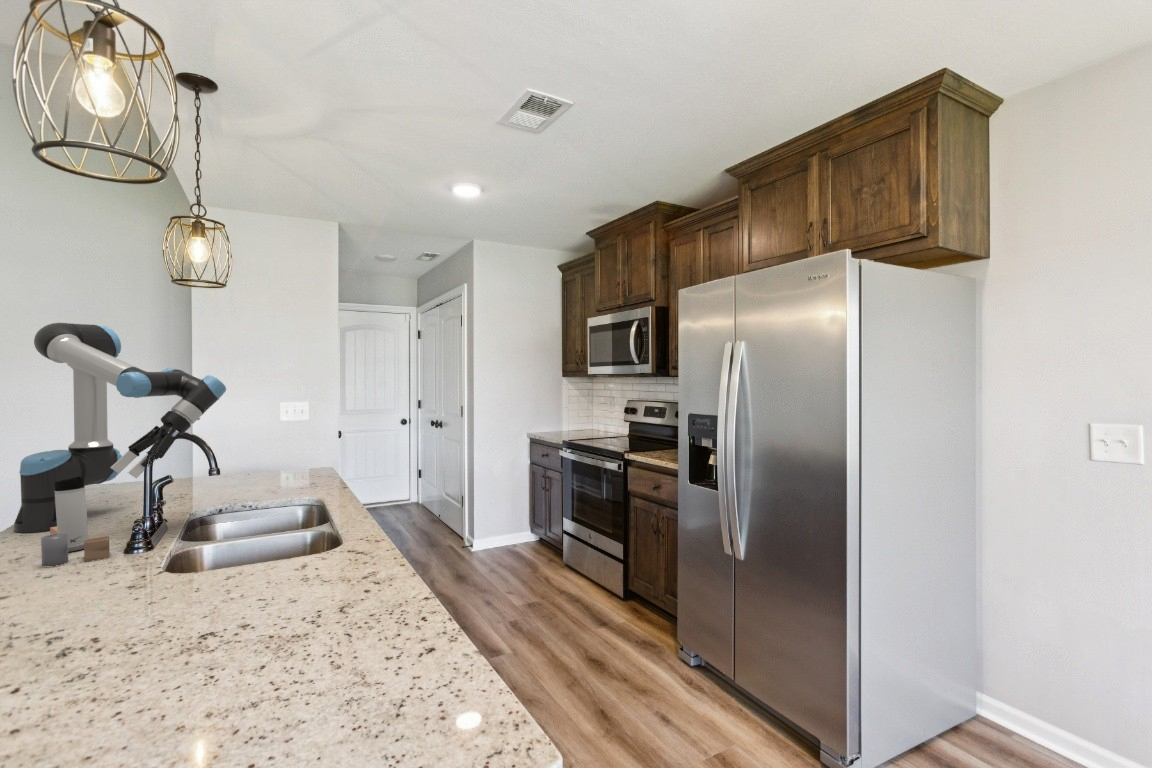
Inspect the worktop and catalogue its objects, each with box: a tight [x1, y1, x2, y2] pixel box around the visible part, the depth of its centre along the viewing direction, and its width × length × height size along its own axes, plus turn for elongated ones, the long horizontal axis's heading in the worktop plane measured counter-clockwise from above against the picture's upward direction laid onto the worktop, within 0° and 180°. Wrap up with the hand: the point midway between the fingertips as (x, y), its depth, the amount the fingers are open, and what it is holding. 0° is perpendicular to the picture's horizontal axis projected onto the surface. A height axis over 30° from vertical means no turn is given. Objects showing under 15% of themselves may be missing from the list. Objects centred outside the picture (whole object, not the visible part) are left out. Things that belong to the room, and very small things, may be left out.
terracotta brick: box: [49, 526, 58, 535], centre depth 164 cm, size 8×4×4 cm, turn 55°
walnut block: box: [83, 534, 111, 563], centre depth 149 cm, size 5×5×5 cm
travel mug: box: [54, 476, 90, 553], centre depth 156 cm, size 6×7×20 cm
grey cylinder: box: [40, 534, 69, 567], centre depth 145 cm, size 5×5×7 cm
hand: (123, 473), depth 164 cm, fingers open, 13 cm apart
